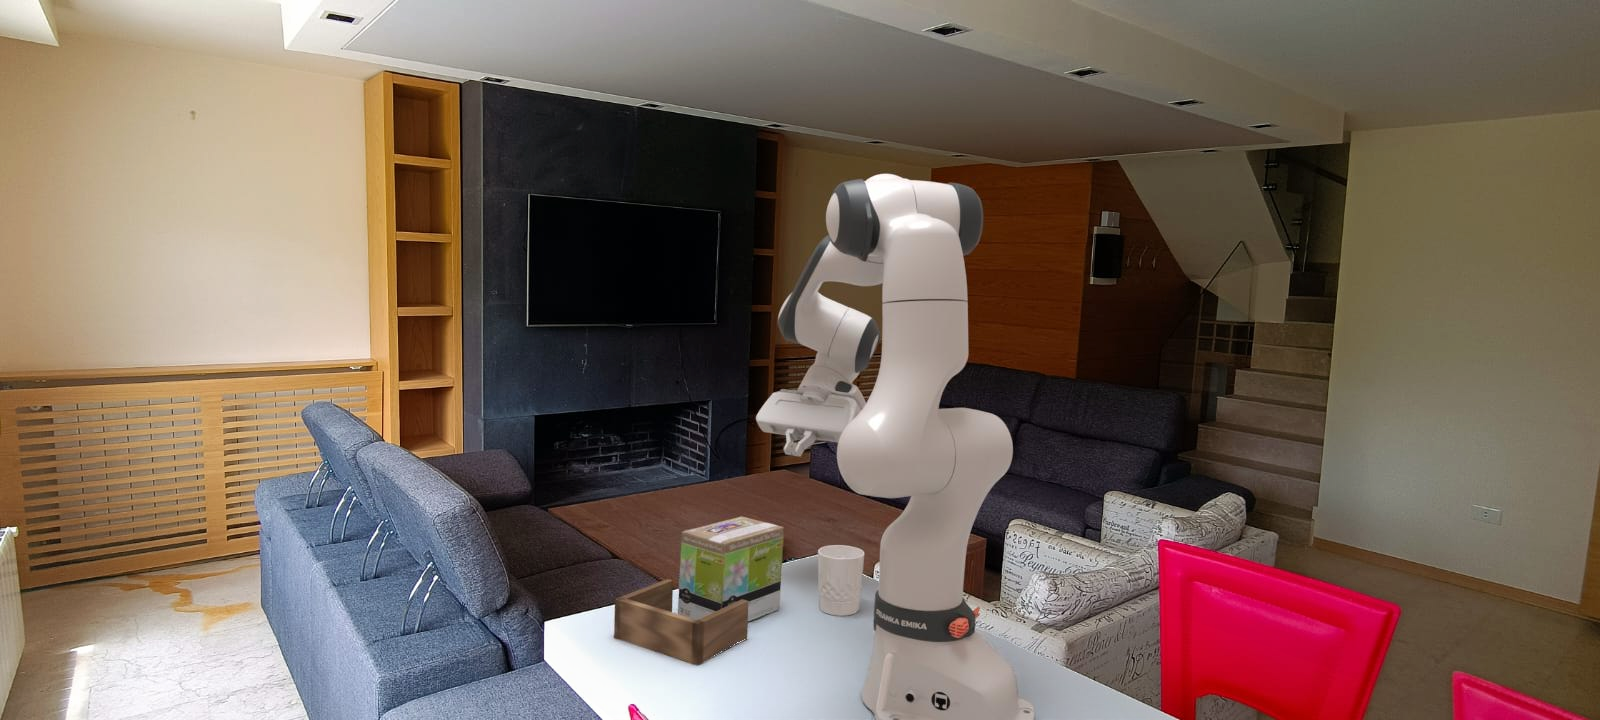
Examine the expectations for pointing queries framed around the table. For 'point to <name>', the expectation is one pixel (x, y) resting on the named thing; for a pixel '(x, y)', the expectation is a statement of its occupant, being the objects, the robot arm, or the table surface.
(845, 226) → the robot arm
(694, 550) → the tea box
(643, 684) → the table surface
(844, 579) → the white cup
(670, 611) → the wooden box
